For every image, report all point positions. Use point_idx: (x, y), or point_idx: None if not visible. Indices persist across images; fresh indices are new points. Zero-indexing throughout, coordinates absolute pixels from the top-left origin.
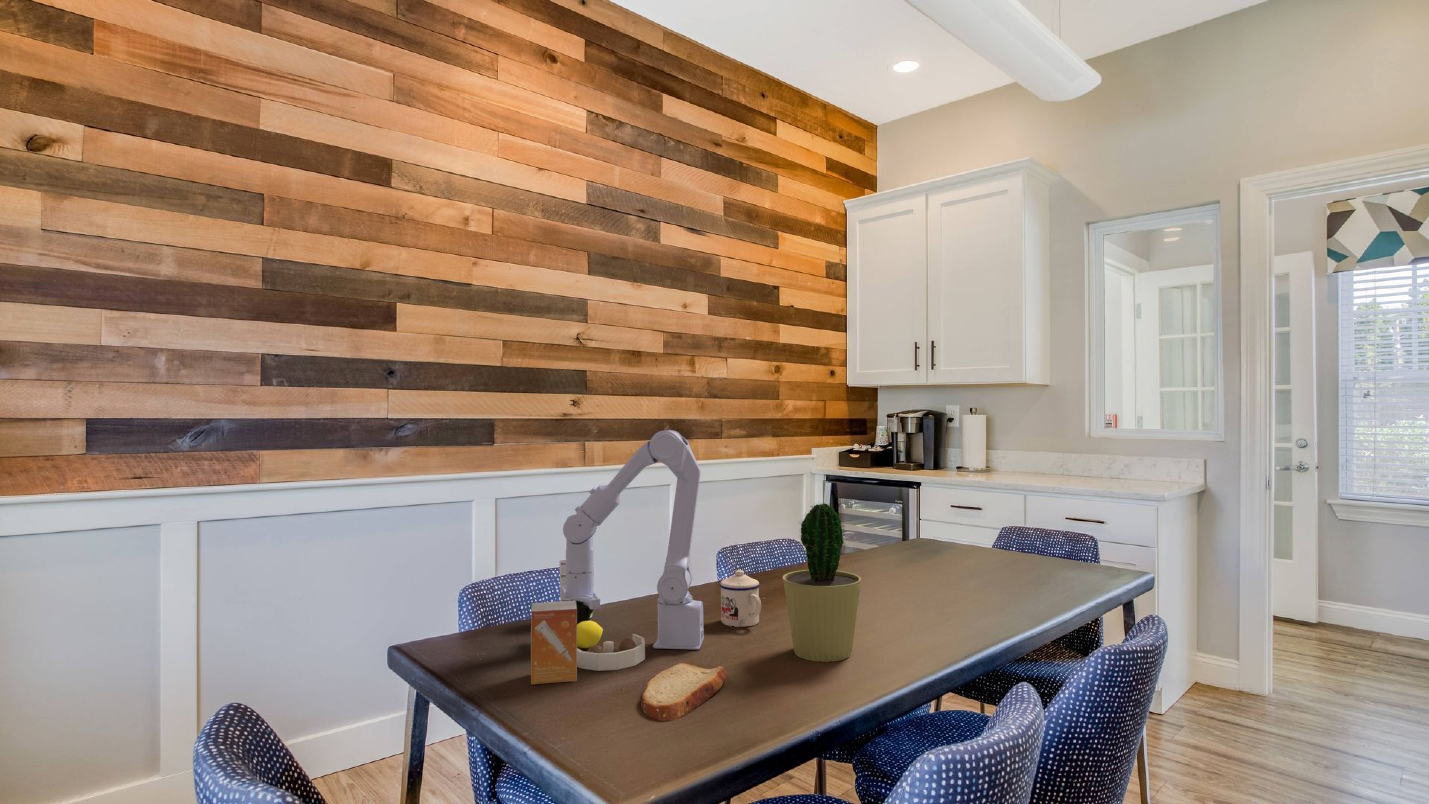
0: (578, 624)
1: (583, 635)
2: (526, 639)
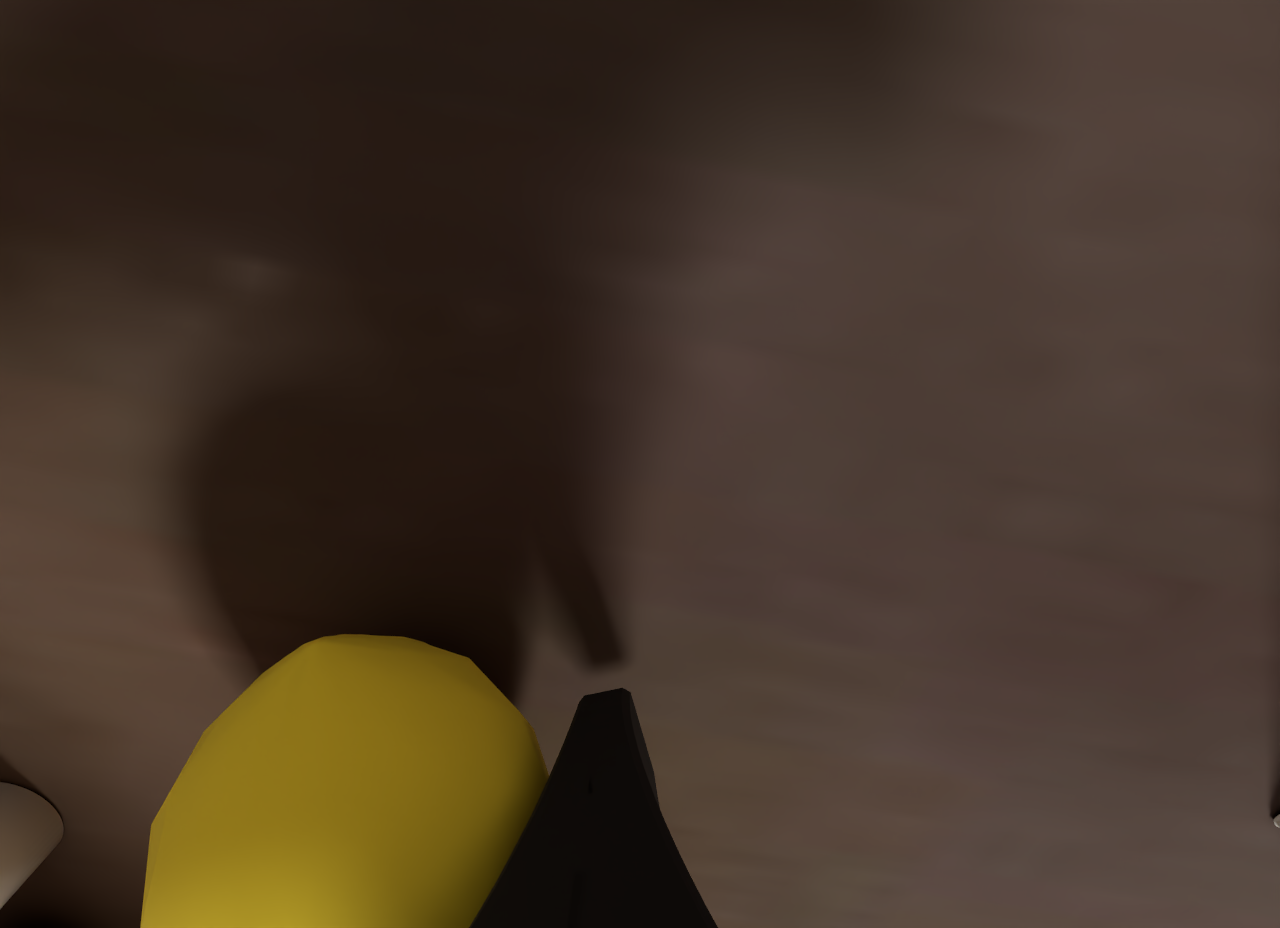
0: (297, 925)
1: (153, 828)
2: (1164, 86)
